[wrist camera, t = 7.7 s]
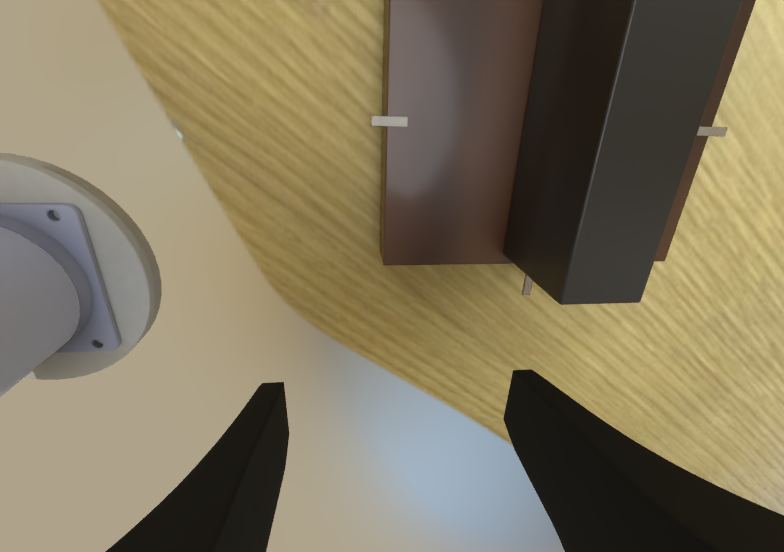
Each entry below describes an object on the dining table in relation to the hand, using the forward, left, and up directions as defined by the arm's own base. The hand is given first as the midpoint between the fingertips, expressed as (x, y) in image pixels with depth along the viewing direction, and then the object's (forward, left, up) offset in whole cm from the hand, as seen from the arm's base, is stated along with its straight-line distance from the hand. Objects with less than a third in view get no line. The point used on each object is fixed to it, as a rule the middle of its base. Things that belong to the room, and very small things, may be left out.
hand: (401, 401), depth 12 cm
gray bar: (+7, +8, -6) cm, 12 cm away
